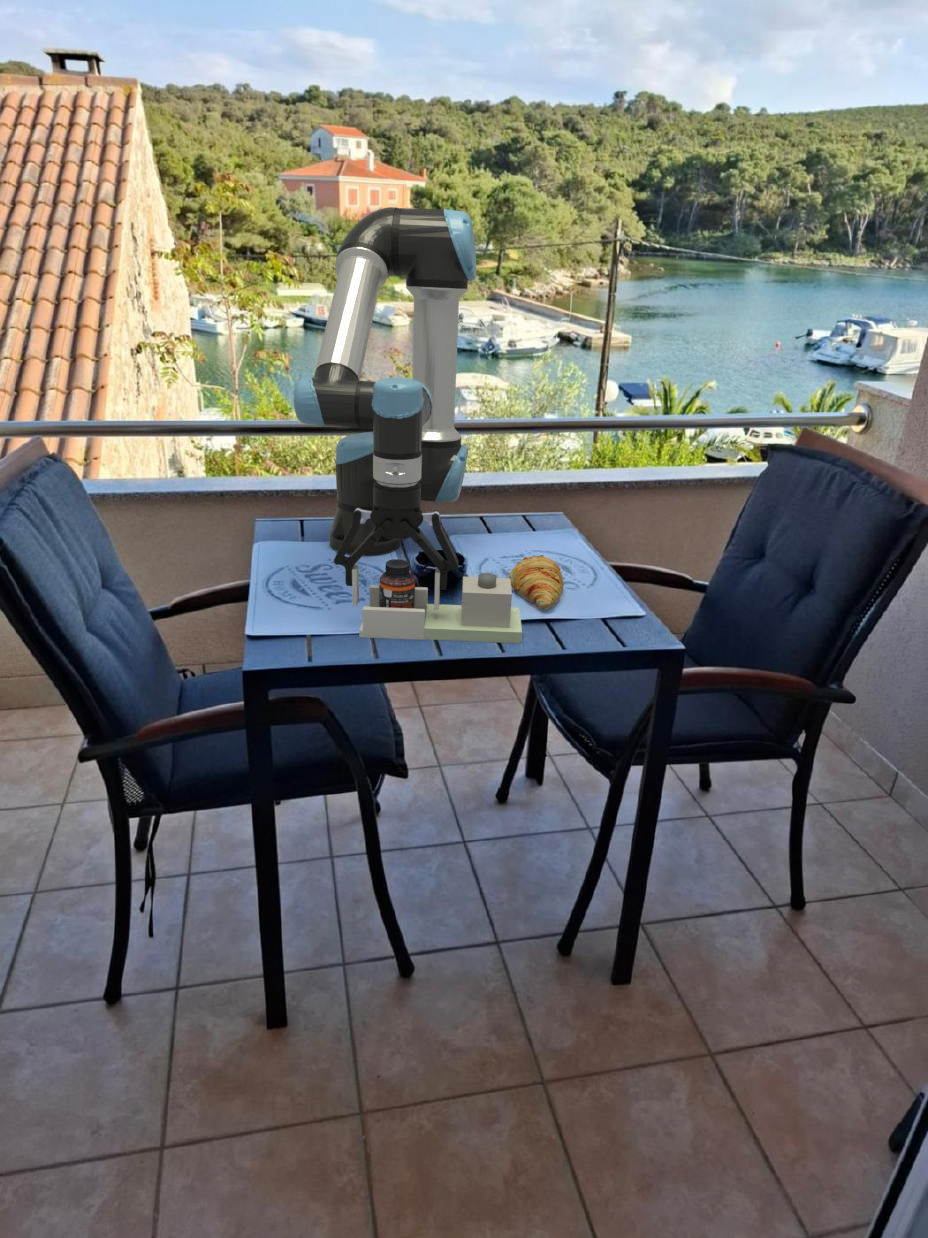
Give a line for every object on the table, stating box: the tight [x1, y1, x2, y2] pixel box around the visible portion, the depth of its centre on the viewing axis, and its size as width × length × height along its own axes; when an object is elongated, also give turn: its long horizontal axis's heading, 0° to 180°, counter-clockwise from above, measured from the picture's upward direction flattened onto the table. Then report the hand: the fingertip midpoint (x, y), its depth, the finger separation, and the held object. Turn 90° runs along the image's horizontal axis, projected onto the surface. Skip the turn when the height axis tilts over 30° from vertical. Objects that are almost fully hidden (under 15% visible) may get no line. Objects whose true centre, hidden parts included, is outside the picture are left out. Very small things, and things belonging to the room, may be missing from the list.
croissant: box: [508, 554, 564, 610], centre depth 156 cm, size 21×10×8 cm, turn 6°
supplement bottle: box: [378, 558, 416, 609], centre depth 139 cm, size 6×6×11 cm
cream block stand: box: [358, 572, 523, 644], centre depth 139 cm, size 10×27×10 cm, turn 89°
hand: (396, 605), depth 140 cm, fingers open, 13 cm apart
